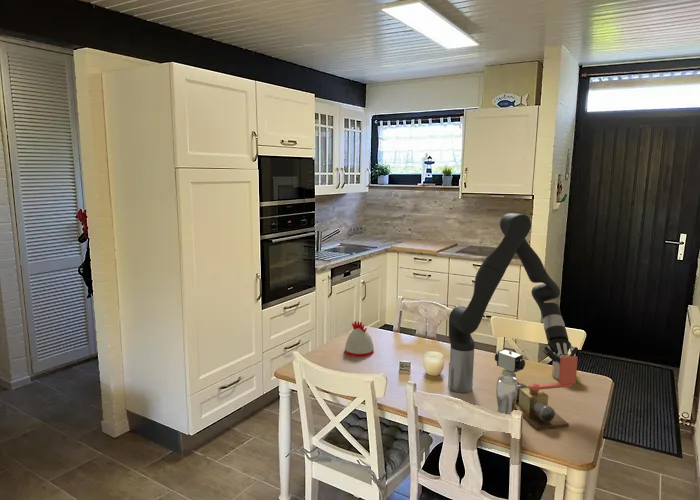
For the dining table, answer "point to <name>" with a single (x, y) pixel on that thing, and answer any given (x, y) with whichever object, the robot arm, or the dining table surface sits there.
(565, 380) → the lever
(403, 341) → the dining table surface
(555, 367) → the teacup with lid
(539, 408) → the valve body
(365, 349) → the grey beanie hat
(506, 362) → the pneumatic valve
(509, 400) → the grey vase
